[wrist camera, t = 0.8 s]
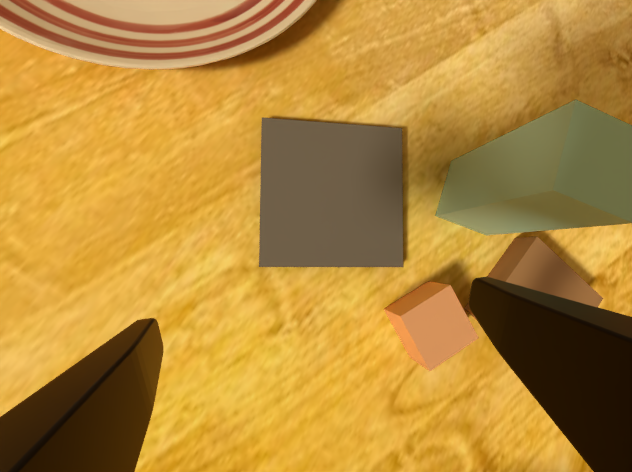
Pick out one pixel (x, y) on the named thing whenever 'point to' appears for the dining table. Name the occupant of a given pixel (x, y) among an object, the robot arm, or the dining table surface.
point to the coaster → (330, 195)
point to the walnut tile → (541, 272)
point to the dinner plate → (150, 28)
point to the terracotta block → (431, 324)
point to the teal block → (545, 176)
